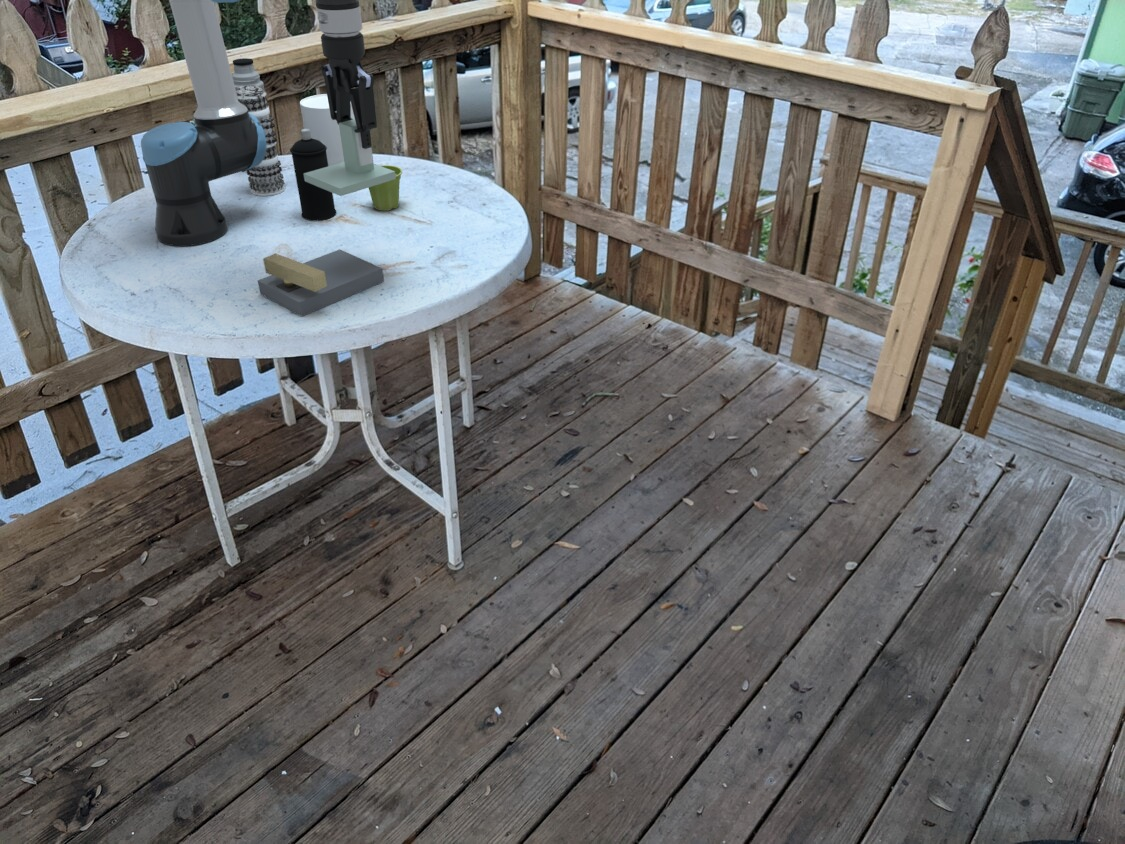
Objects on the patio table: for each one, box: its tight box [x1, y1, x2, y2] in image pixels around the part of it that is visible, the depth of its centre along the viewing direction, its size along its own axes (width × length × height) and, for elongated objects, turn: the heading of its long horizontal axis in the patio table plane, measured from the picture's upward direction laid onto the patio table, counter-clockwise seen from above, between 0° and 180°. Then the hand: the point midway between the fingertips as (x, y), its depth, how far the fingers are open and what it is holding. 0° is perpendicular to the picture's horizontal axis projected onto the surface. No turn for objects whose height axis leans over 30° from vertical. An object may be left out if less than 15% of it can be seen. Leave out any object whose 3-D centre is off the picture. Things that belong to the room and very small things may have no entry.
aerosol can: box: [289, 128, 337, 221], centre depth 199 cm, size 8×8×20 cm
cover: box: [304, 119, 396, 197], centre depth 165 cm, size 12×13×10 cm
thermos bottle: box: [232, 57, 272, 123], centre depth 222 cm, size 8×8×28 cm
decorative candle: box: [236, 86, 286, 197], centre depth 210 cm, size 9×9×25 cm
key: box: [262, 253, 327, 292], centre depth 164 cm, size 3×14×5 cm, turn 55°
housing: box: [257, 249, 385, 317], centre depth 172 cm, size 14×20×3 cm
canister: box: [299, 93, 355, 166], centre depth 218 cm, size 14×14×20 cm
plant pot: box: [368, 164, 403, 211], centre depth 207 cm, size 9×9×9 cm
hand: (358, 161), depth 167 cm, fingers closed on cover, 4 cm apart
